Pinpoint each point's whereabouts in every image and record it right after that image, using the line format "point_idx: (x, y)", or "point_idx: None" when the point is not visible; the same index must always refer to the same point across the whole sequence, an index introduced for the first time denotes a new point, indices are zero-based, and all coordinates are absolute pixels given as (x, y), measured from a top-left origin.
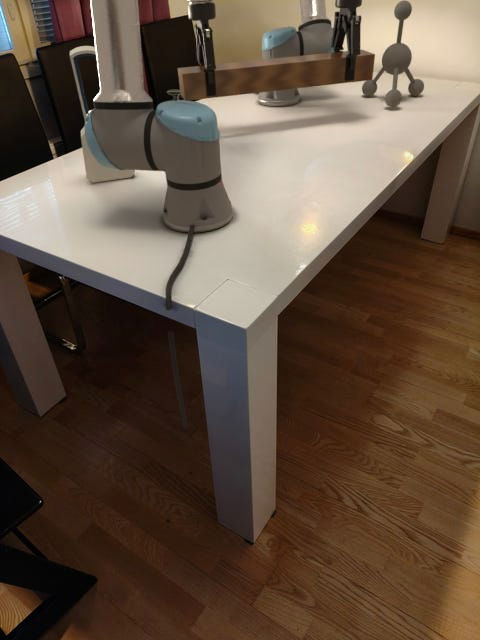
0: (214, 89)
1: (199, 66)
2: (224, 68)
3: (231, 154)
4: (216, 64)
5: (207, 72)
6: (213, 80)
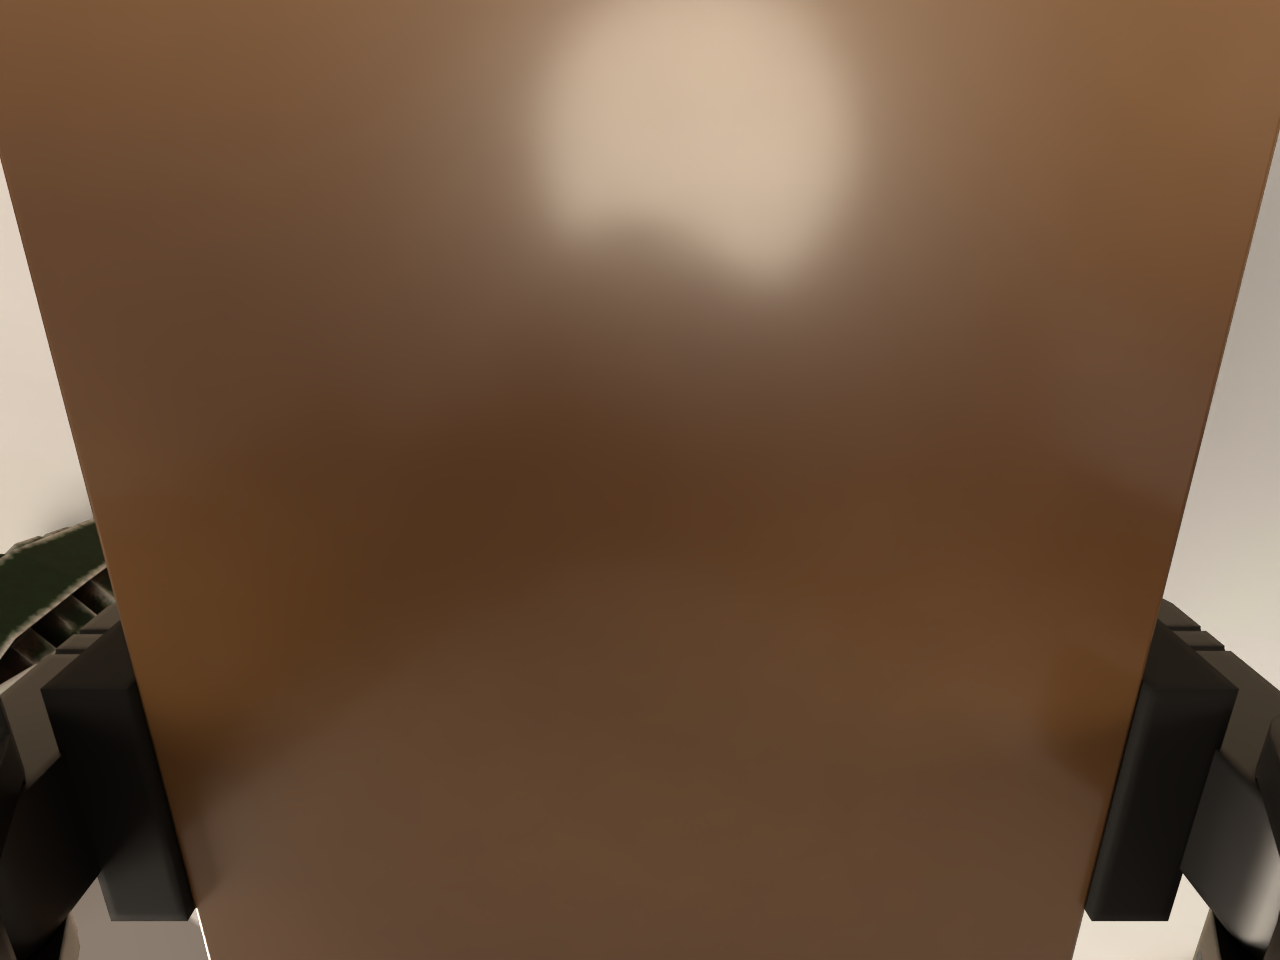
0: None
1: (275, 919)
2: (1005, 284)
3: (1272, 298)
4: (107, 413)
5: (1163, 849)
6: (1190, 626)
